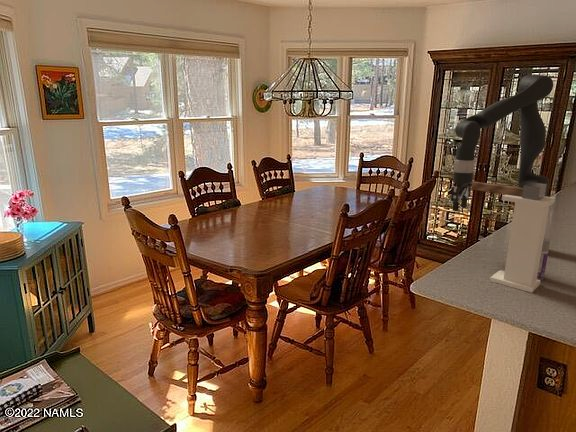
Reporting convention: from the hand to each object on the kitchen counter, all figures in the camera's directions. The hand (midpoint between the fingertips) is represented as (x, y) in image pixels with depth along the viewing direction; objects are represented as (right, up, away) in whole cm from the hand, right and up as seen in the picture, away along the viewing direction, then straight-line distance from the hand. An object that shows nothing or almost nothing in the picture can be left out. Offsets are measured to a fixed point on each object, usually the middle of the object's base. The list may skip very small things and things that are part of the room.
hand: (459, 209), depth 179 cm
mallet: (+6, +5, -26) cm, 28 cm away
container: (+22, -26, -18) cm, 38 cm away
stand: (+11, -27, -23) cm, 37 cm away
